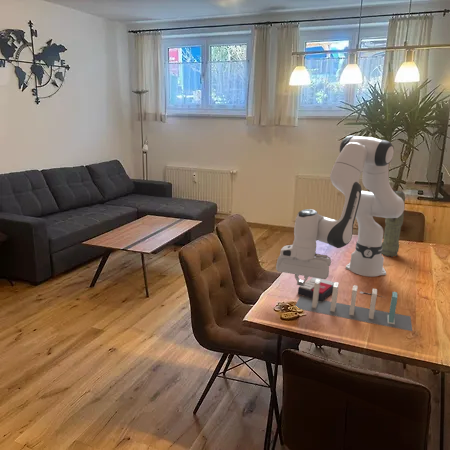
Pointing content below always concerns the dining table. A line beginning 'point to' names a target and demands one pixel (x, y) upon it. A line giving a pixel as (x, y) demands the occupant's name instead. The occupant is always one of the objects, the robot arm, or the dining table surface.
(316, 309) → the domino mat
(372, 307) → the domino
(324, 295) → the calculator
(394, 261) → the dining table surface
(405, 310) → the dining table surface
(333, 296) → the domino
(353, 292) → the domino
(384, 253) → the thermos
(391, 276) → the dining table surface
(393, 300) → the domino
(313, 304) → the domino
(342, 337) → the dining table surface
